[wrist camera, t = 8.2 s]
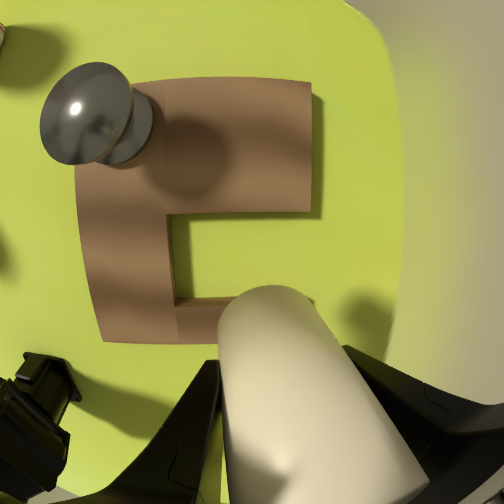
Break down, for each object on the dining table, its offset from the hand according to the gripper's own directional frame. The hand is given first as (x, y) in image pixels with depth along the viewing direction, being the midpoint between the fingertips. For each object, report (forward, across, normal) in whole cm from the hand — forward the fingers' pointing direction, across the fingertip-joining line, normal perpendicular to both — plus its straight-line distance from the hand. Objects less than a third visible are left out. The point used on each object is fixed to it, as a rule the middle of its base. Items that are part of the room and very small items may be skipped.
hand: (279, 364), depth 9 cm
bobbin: (+11, +9, -10) cm, 17 cm away
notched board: (+13, +4, -3) cm, 14 cm away
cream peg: (+2, 0, 0) cm, 2 cm away
